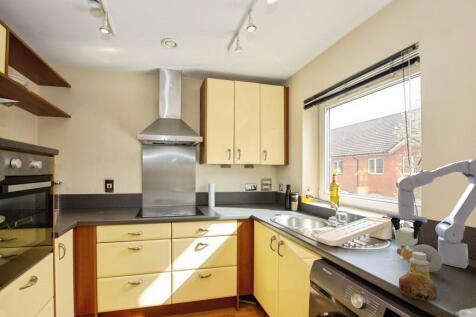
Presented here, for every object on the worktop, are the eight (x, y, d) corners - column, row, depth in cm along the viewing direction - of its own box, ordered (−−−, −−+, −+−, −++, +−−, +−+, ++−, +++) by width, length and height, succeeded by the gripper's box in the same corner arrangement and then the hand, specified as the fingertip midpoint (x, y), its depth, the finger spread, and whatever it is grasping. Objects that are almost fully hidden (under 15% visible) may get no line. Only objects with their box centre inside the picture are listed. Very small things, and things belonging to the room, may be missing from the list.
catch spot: (417, 259, 112) (417, 258, 112) (413, 262, 108) (413, 262, 108) (401, 255, 116) (401, 255, 116) (397, 258, 112) (397, 258, 112)
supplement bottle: (430, 286, 86) (429, 257, 86) (410, 282, 89) (410, 254, 89) (428, 280, 91) (428, 252, 91) (410, 277, 93) (409, 250, 94)
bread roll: (438, 307, 80) (438, 279, 83) (434, 304, 74) (435, 274, 76) (400, 296, 87) (402, 271, 90) (394, 293, 80) (396, 266, 83)
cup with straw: (388, 248, 126) (387, 207, 126) (401, 246, 129) (400, 206, 130) (405, 254, 118) (404, 209, 119) (418, 251, 121) (417, 208, 122)
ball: (411, 248, 111) (410, 255, 109) (413, 254, 113) (411, 262, 110) (401, 246, 114) (399, 253, 112) (402, 252, 116) (400, 259, 113)
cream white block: (402, 239, 117) (402, 227, 117) (417, 242, 113) (417, 229, 113) (395, 243, 111) (395, 231, 111) (411, 246, 107) (410, 233, 107)
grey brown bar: (426, 258, 112) (426, 254, 112) (425, 259, 111) (425, 254, 111) (397, 252, 120) (397, 248, 120) (397, 253, 120) (397, 248, 120)
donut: (409, 267, 102) (409, 242, 102) (414, 266, 104) (413, 240, 104) (439, 277, 93) (439, 248, 94) (444, 275, 95) (443, 247, 96)
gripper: (384, 204, 116) (385, 235, 115) (423, 208, 105) (424, 242, 104) (390, 202, 120) (390, 232, 120) (428, 206, 109) (429, 239, 109)
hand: (406, 236), depth 112 cm, fingers closed on cream white block, 6 cm apart
